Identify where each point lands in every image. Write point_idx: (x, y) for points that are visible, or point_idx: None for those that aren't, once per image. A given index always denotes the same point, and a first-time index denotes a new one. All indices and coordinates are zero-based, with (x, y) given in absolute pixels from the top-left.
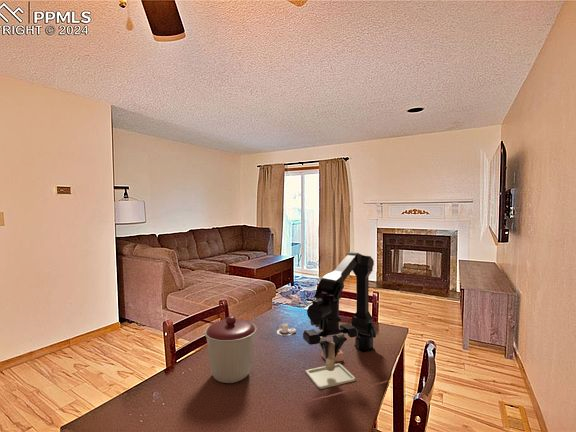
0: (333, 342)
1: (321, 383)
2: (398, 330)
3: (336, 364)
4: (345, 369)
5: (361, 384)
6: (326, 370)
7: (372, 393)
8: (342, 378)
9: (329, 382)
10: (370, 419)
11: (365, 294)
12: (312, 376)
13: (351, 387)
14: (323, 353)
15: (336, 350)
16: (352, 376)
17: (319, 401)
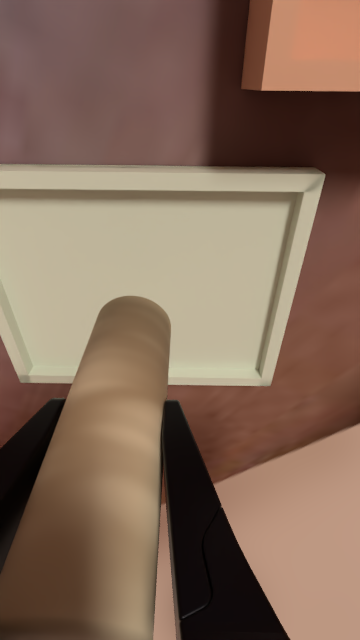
0: (144, 636)
1: (52, 338)
2: None
3: (278, 188)
4: (288, 289)
5: (275, 391)
6: (148, 215)
7: (266, 441)
8: (206, 339)
9: None
10: (162, 502)
11: None
12: (3, 253)
13: (209, 393)
14: (14, 436)
15: (168, 531)
16: (266, 366)
17: (14, 417)
